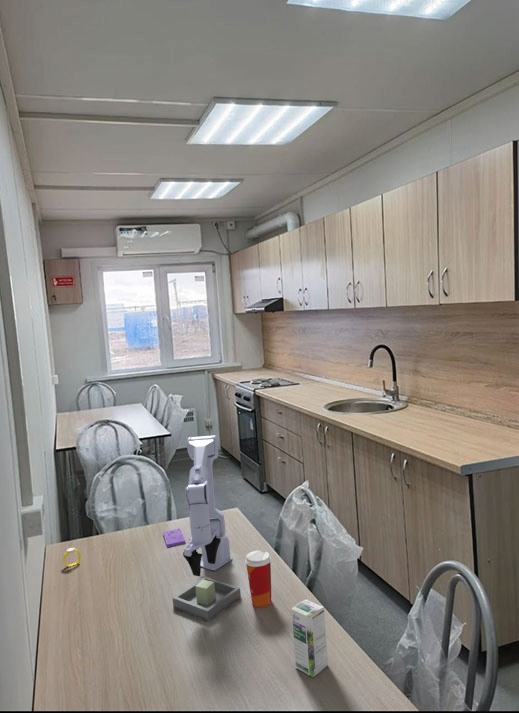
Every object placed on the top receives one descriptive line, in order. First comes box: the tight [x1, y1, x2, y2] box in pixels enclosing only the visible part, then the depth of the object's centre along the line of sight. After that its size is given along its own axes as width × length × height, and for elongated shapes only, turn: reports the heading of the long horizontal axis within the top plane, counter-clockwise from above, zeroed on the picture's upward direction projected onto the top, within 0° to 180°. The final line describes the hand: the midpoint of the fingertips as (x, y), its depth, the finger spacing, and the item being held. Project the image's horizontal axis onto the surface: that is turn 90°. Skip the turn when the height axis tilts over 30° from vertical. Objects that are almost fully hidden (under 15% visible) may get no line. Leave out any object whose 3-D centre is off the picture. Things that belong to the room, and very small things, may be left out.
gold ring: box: [62, 547, 82, 568], centre depth 185 cm, size 6×3×6 cm, turn 131°
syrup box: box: [290, 599, 329, 678], centre depth 122 cm, size 6×6×14 cm
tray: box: [172, 576, 242, 622], centre depth 153 cm, size 14×14×3 cm
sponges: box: [162, 527, 186, 548], centre depth 201 cm, size 7×13×2 cm, turn 18°
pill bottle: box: [244, 550, 272, 609], centre depth 151 cm, size 8×8×14 cm
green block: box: [195, 580, 216, 605], centre depth 154 cm, size 4×4×5 cm
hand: (204, 569), depth 154 cm, fingers open, 7 cm apart
